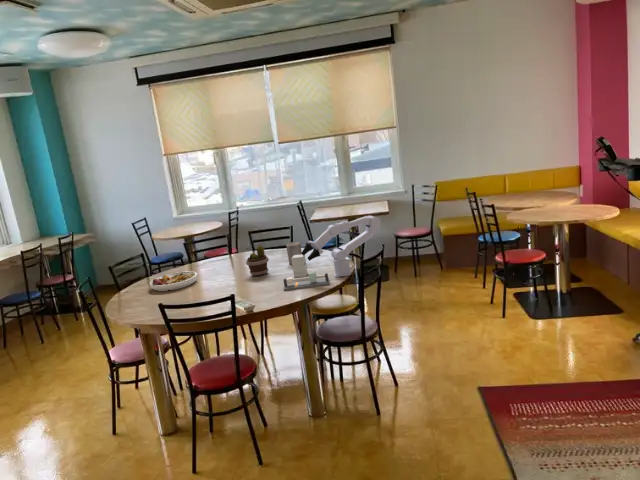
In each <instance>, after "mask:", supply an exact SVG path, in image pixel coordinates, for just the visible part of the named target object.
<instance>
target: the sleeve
mask: <svg viewBox="0 0 640 480" xmlns="http://www.w3.org/2000/svg"><path fill="white" fill-rule="evenodd" d="M316 272H317V271H309V272H308V273H307V274H308V277H309V280H308V281H309V282H314V281H317V279H318V278H317V279H316V276H317V273H316Z"/></svg>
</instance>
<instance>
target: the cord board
mask: <svg viewBox="0 0 640 480" xmlns="http://www.w3.org/2000/svg"><path fill="white" fill-rule="evenodd" d="M316 279H317V281H314V282H309V276H305V277H296V278H294V276H293V277H292V276H291V277H287V278H283V292H284V291H285V292H286V291H292V290H300V289H308V288H315V287H323V286H330V278H329V274H328V272H325V273H324V274H320V275H316Z"/></svg>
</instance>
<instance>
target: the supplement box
mask: <svg viewBox="0 0 640 480" xmlns="http://www.w3.org/2000/svg"><path fill="white" fill-rule="evenodd" d="M306 259H307V258H306V254H305V255H304V256H303V255H294V256H293V257H292V258H291V260H292V265H291V266H292V273H293V274H292V275H293V279H297V278H304V277H307V274H308V273H309V272H308V265H307V260H306Z"/></svg>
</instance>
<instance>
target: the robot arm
mask: <svg viewBox="0 0 640 480" xmlns="http://www.w3.org/2000/svg"><path fill="white" fill-rule="evenodd" d="M361 225H365V230H364V231H363V232H362V233H360V234H359V235H357V236H356V237H354V238H353V239H352V240H350V241H349V242H347V243H346V244H344V245H340V246H339V247H335V248H333V249H332V250H331V253H330V255H331V257H332V258H333V267H334V278H338V277H346V276H347V277H348V276H351V275H352V274H351V271H352V269H351V266H350V265H351V264H350V259H349V258H348V259H346V258H347V257H348V256H349V255H350V253H351V252H352V251H354V250H356V249H357V248H358V247H360V246H361V245H363V244H364V243H366V242H367V241H369V240H370V239H372V238H373V237H374V236H375V234H376V232H377V231H378V229H379V228H380V226H381V219H380V218H379V217H377V216H373V215H370V214H369V215H365V216H363V217H359V218H356V219H355V220H354V219H353V220H351V221H348V220H342V221H341V222H338V223H337V222H336V223H334V224H330V225H327V228H326V229H325V231H323V232H322V234H320V236H319V237H318V238H316V239H315V240H314V241H312V240H308V242H305V245H304V248H303V250H301V251H302V255H303V256H304V255H305V256H306V254H308V253H309V252H311V251H312V252H311V253H310V254H309V255H308V256H307V258H306V259H308V261H311V260H314V259H315V258H318V257H321V255H322V254H323V253H324V251H323V248H324V246H325V245H326V244H328V243H329V242H330V241H331V240H332V239H333V237H334V236H338V235H339V234H341V233H345V232H348V231H350V230H351V228H353V227H358V226H361Z"/></svg>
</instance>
